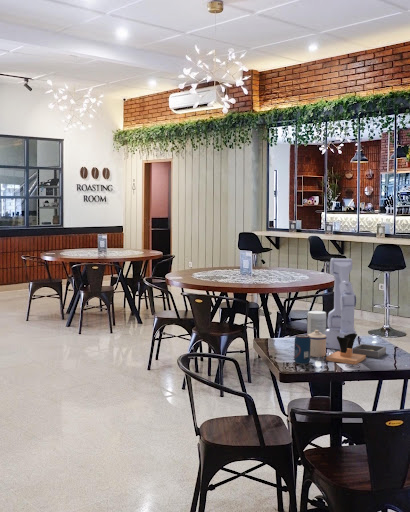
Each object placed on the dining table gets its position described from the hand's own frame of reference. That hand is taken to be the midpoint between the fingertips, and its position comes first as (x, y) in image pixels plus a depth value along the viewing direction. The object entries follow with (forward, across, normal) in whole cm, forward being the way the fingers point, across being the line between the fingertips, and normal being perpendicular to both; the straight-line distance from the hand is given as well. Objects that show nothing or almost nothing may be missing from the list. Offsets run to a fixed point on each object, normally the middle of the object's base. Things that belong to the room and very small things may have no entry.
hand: (346, 351), depth 287 cm
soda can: (+4, -17, +14) cm, 22 cm away
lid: (+3, 0, 0) cm, 3 cm away
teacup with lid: (+4, 0, +16) cm, 17 cm away
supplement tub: (+4, +31, +27) cm, 41 cm away
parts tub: (+4, +17, -5) cm, 18 cm away
